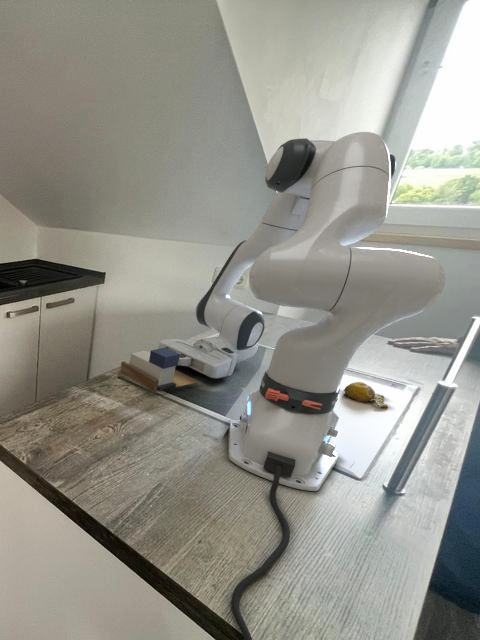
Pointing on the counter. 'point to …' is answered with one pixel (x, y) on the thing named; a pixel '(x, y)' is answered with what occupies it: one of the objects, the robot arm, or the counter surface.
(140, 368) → the white block blue cap
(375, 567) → the counter surface
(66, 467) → the counter surface
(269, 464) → the robot arm
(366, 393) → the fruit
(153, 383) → the shoe shelf
